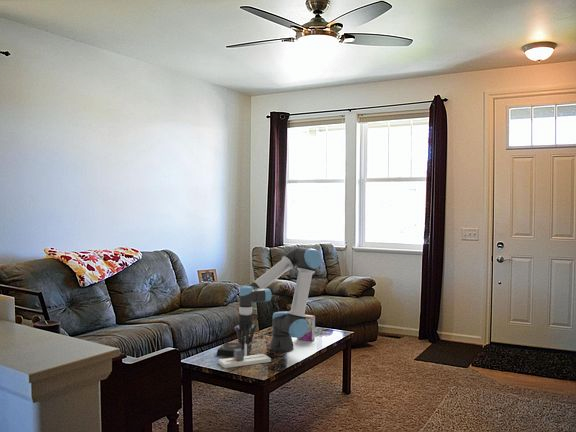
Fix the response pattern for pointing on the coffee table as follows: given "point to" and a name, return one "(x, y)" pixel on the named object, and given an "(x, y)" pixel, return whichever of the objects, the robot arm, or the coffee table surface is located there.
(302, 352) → the coffee table surface
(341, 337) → the coffee table surface
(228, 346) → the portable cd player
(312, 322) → the candy bar box
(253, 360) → the board
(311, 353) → the coffee table surface
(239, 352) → the fader knob
